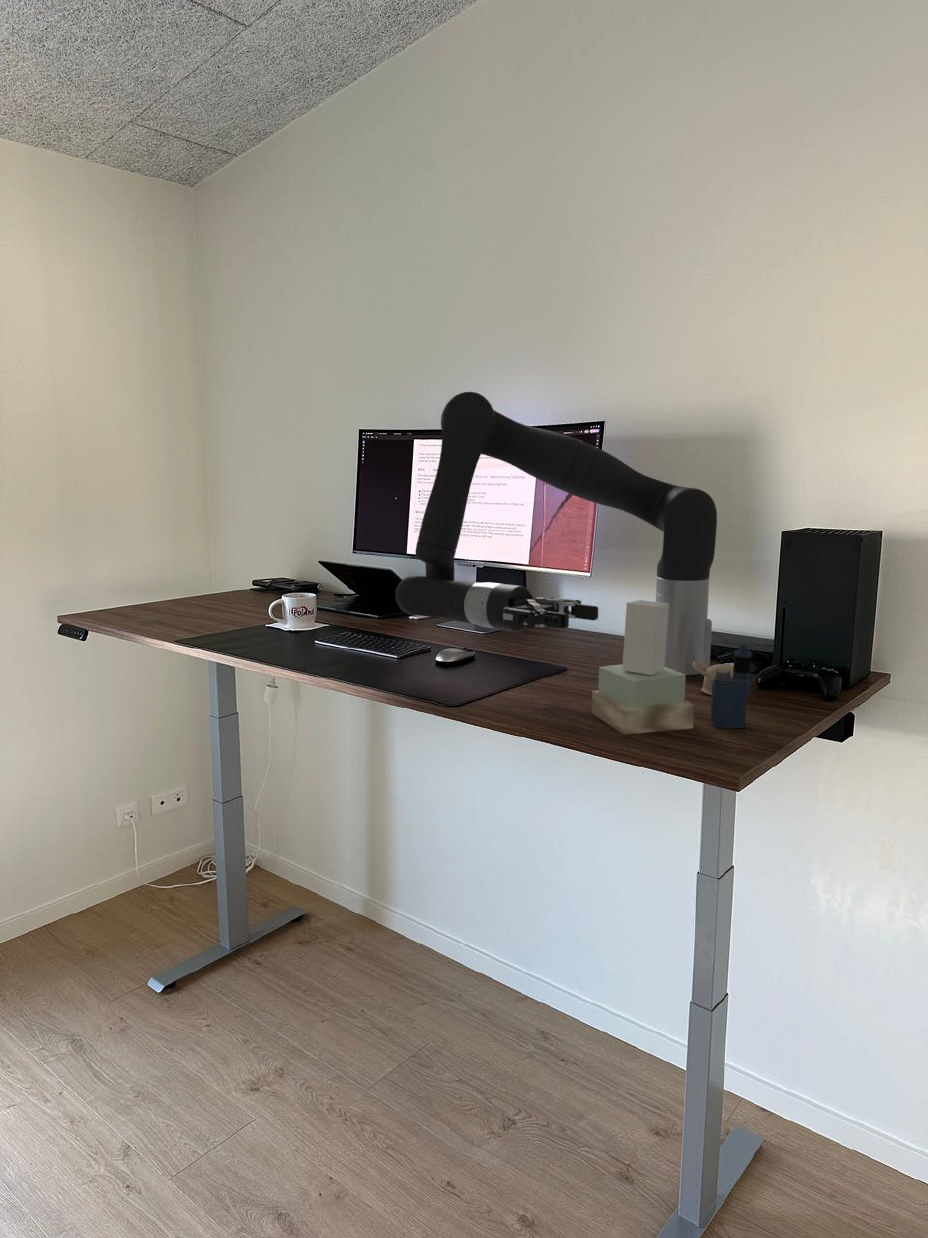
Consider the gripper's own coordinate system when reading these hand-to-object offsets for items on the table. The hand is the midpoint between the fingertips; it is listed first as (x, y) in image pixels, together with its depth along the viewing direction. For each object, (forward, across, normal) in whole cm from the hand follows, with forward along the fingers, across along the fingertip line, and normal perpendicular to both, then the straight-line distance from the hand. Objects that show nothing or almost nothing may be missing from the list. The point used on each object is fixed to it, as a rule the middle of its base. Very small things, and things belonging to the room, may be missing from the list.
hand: (582, 617), depth 130 cm
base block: (+10, 0, +15) cm, 18 cm away
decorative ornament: (+13, +21, +15) cm, 29 cm away
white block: (+10, 0, +7) cm, 12 cm away
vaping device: (+22, +6, +15) cm, 27 cm away
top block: (+10, +1, +11) cm, 15 cm away
